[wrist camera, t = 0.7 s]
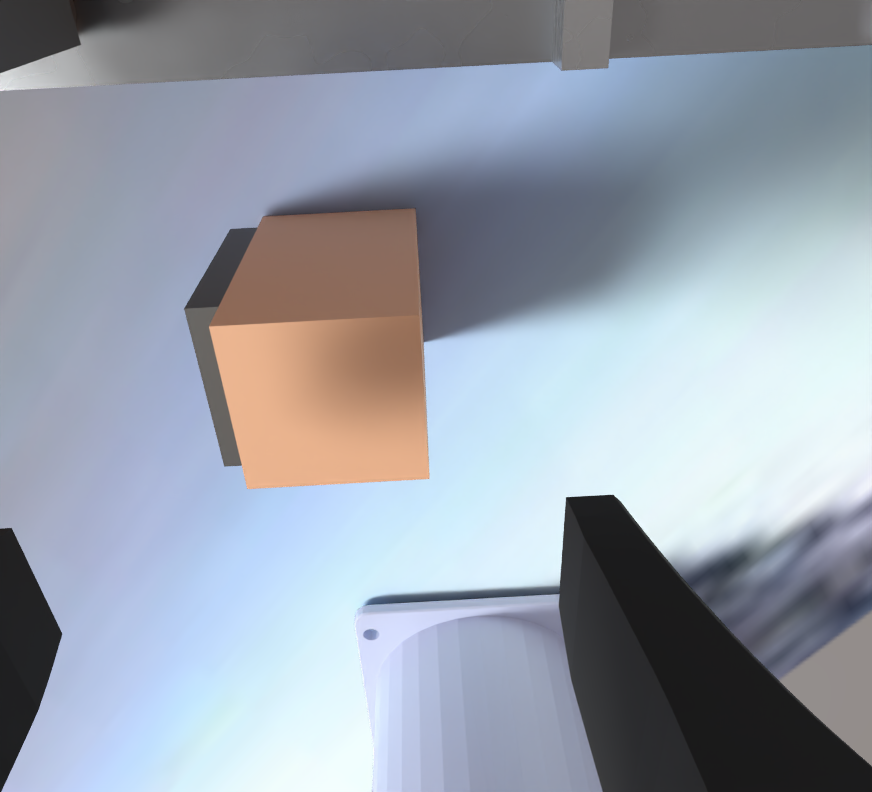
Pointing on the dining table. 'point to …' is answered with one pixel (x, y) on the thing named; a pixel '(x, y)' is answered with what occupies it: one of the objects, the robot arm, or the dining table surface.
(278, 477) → the tan block with backing
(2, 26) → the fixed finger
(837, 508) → the dining table surface
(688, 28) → the rail
